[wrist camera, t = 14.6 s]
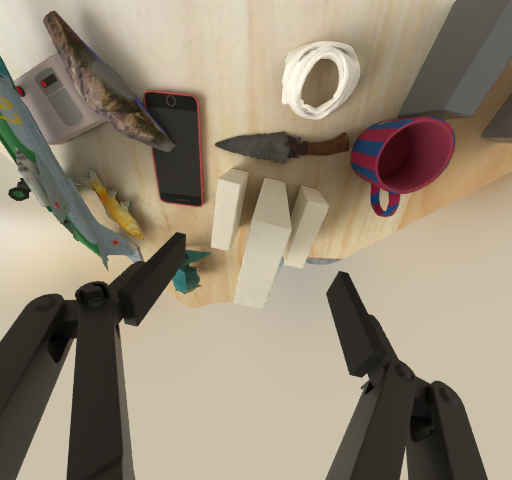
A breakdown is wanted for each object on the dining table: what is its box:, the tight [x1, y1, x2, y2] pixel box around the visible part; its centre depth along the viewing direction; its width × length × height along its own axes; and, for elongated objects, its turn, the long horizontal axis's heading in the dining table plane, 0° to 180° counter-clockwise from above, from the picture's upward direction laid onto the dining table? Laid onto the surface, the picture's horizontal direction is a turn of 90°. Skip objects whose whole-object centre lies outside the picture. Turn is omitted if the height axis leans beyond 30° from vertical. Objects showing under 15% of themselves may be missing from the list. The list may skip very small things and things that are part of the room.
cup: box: [351, 116, 455, 217], centre depth 21 cm, size 7×10×7 cm
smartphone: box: [143, 90, 204, 207], centre depth 26 cm, size 7×1×14 cm
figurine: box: [172, 250, 211, 294], centre depth 34 cm, size 12×9×8 cm
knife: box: [215, 132, 349, 164], centre depth 23 cm, size 17×2×5 cm
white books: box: [211, 168, 330, 269], centre depth 26 cm, size 12×9×7 cm
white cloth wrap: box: [282, 41, 360, 119], centre depth 19 cm, size 8×7×5 cm
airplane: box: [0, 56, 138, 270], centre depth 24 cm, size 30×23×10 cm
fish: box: [81, 169, 144, 240], centre depth 30 cm, size 12×2×5 cm
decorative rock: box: [43, 11, 176, 152], centre depth 22 cm, size 16×2×5 cm
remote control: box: [13, 54, 107, 145], centre depth 23 cm, size 7×16×3 cm, turn 108°
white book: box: [233, 177, 292, 310], centre depth 22 cm, size 3×9×15 cm, turn 168°
